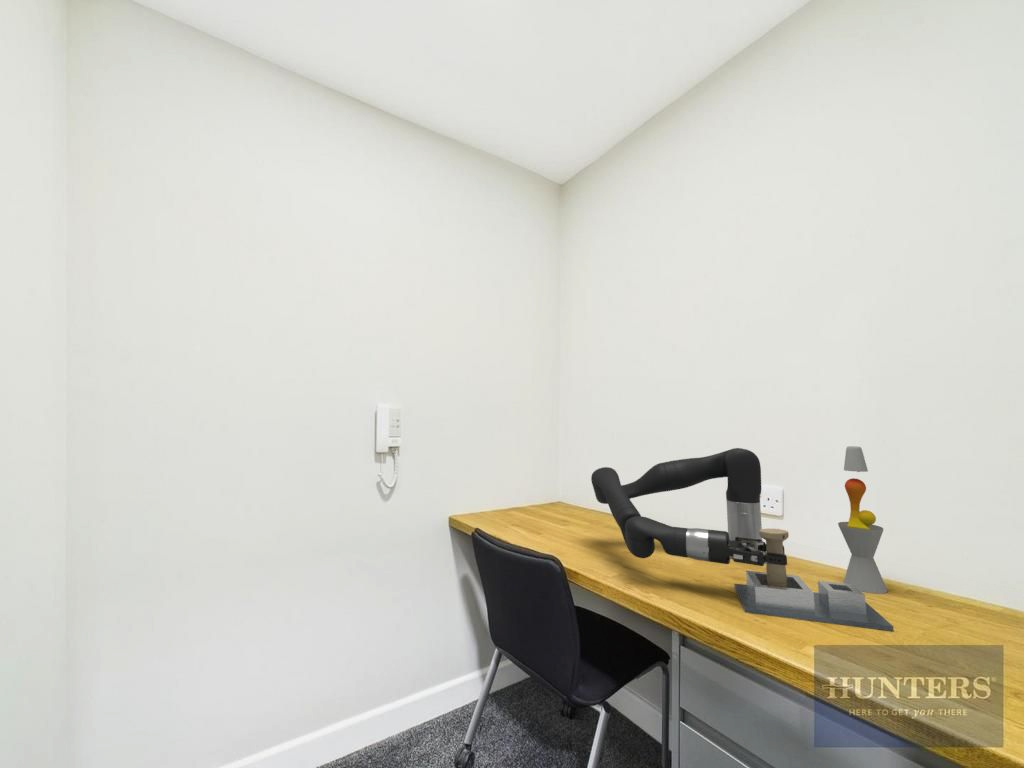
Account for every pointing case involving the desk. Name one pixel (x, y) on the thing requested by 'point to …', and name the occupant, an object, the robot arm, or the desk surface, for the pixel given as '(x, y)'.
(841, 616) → the socket plate
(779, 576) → the handle
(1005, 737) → the desk surface
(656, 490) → the robot arm
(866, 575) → the stacked pieces
